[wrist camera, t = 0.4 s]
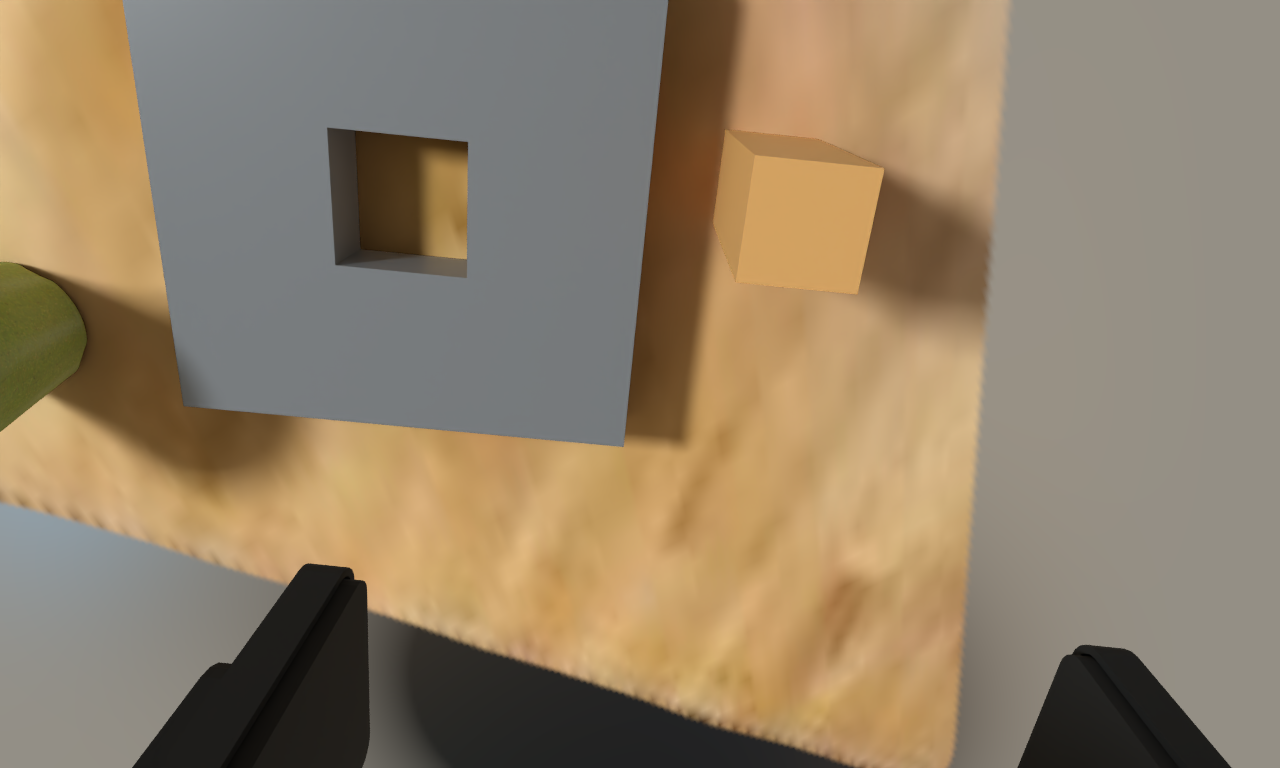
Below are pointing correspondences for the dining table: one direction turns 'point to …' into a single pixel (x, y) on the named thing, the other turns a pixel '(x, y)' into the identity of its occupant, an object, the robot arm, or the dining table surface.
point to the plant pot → (34, 339)
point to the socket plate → (329, 212)
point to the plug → (794, 211)
